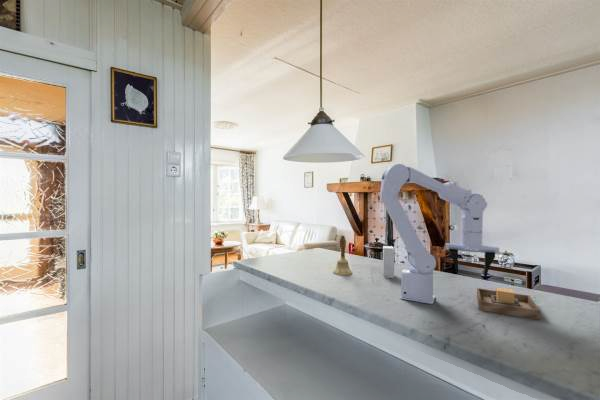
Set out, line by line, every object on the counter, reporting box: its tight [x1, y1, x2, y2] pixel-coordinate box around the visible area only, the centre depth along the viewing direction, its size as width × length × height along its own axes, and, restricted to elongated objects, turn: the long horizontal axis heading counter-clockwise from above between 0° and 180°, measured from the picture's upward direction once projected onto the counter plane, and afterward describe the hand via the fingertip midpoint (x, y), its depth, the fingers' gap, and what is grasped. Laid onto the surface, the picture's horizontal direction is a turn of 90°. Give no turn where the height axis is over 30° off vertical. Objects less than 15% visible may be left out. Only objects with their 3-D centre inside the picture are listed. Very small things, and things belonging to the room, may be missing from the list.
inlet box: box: [476, 287, 541, 321], centre depth 88 cm, size 14×14×2 cm
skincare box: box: [381, 245, 395, 279], centre depth 120 cm, size 6×4×12 cm
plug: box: [495, 286, 515, 304], centre depth 88 cm, size 4×4×4 cm
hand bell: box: [332, 235, 353, 276], centre depth 125 cm, size 8×8×16 cm
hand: (470, 274), depth 92 cm, fingers open, 7 cm apart
